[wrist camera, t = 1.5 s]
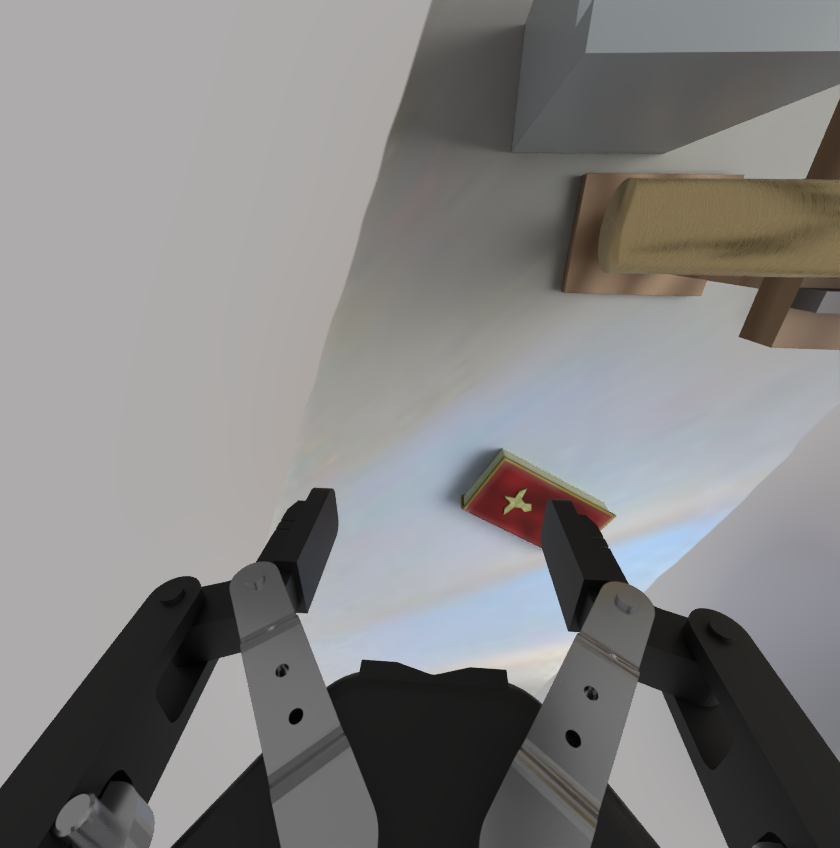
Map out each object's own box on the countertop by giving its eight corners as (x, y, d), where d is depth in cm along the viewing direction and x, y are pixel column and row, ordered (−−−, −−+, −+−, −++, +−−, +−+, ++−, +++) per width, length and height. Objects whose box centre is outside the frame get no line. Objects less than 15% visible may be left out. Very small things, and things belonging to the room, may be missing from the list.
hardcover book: (559, 544, 65) (566, 563, 61) (460, 495, 61) (461, 512, 58) (606, 500, 60) (616, 517, 56) (500, 443, 56) (504, 458, 52)
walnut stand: (561, 290, 45) (777, 389, 16) (582, 175, 39) (981, -13, 10) (693, 294, 44) (1187, 405, 15) (734, 177, 39) (1656, -24, 9)
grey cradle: (511, 152, 39) (585, 52, 18) (525, 23, 34) (645, -309, 14) (663, 153, 38) (924, 50, 17) (698, 21, 34) (1111, -336, 13)
